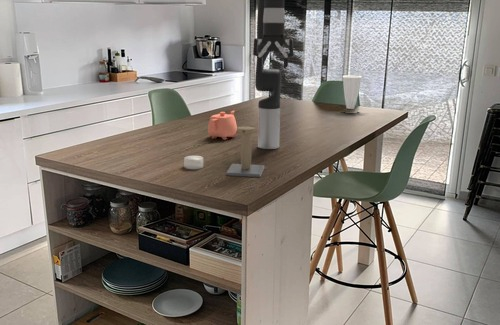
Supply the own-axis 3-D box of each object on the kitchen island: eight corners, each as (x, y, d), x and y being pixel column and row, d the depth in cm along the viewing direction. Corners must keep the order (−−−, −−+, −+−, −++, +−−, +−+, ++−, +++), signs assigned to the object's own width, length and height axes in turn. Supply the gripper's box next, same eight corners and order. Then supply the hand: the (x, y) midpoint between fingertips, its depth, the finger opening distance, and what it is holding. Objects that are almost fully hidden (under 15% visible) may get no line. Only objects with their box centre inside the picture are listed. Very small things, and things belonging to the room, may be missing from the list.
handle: (239, 166, 188) (240, 126, 184) (256, 167, 186) (256, 127, 182) (235, 169, 184) (235, 128, 180) (252, 171, 182) (252, 129, 178)
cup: (355, 114, 304) (357, 77, 298) (337, 112, 310) (339, 76, 304) (362, 111, 313) (364, 76, 307) (344, 109, 319) (347, 74, 313)
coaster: (232, 166, 192) (232, 163, 192) (264, 167, 190) (264, 165, 190) (226, 175, 180) (226, 172, 180) (260, 177, 179) (260, 174, 179)
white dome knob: (187, 164, 195) (186, 155, 194) (205, 165, 194) (205, 156, 193) (182, 169, 188) (182, 159, 187) (200, 170, 187) (200, 160, 186)
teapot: (223, 142, 229) (222, 116, 226) (200, 139, 235) (200, 113, 232) (244, 134, 246) (244, 109, 243) (223, 132, 252) (223, 107, 249)
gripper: (294, 21, 184) (293, 67, 188) (255, 21, 186) (254, 67, 190) (293, 21, 176) (292, 69, 181) (252, 21, 178) (252, 68, 183)
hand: (272, 68), depth 185 cm, fingers open, 8 cm apart
